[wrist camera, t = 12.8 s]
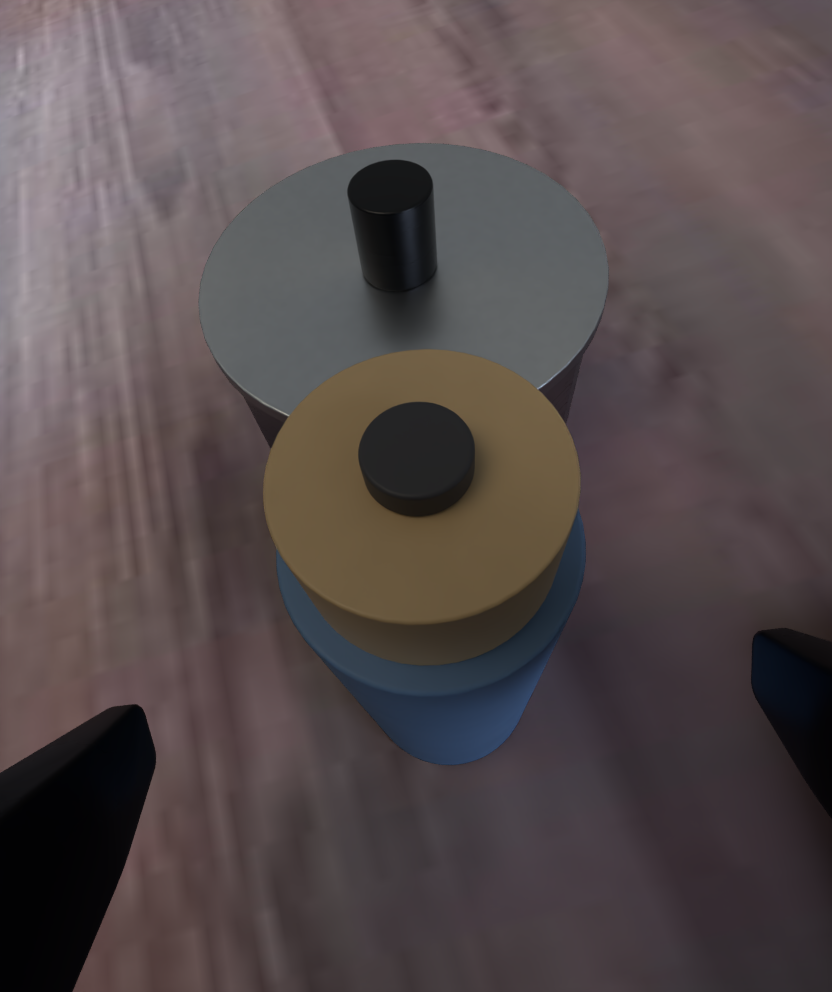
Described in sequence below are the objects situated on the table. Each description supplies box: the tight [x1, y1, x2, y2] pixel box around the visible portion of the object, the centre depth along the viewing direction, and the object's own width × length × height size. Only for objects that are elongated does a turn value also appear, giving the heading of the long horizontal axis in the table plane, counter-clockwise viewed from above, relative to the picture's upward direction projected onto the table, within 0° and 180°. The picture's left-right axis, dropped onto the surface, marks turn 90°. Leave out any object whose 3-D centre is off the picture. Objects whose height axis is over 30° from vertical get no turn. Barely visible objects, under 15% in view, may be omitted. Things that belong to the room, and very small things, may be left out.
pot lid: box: [199, 143, 609, 423], centre depth 17 cm, size 12×12×4 cm
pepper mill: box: [263, 349, 586, 765], centre depth 13 cm, size 5×5×13 cm
